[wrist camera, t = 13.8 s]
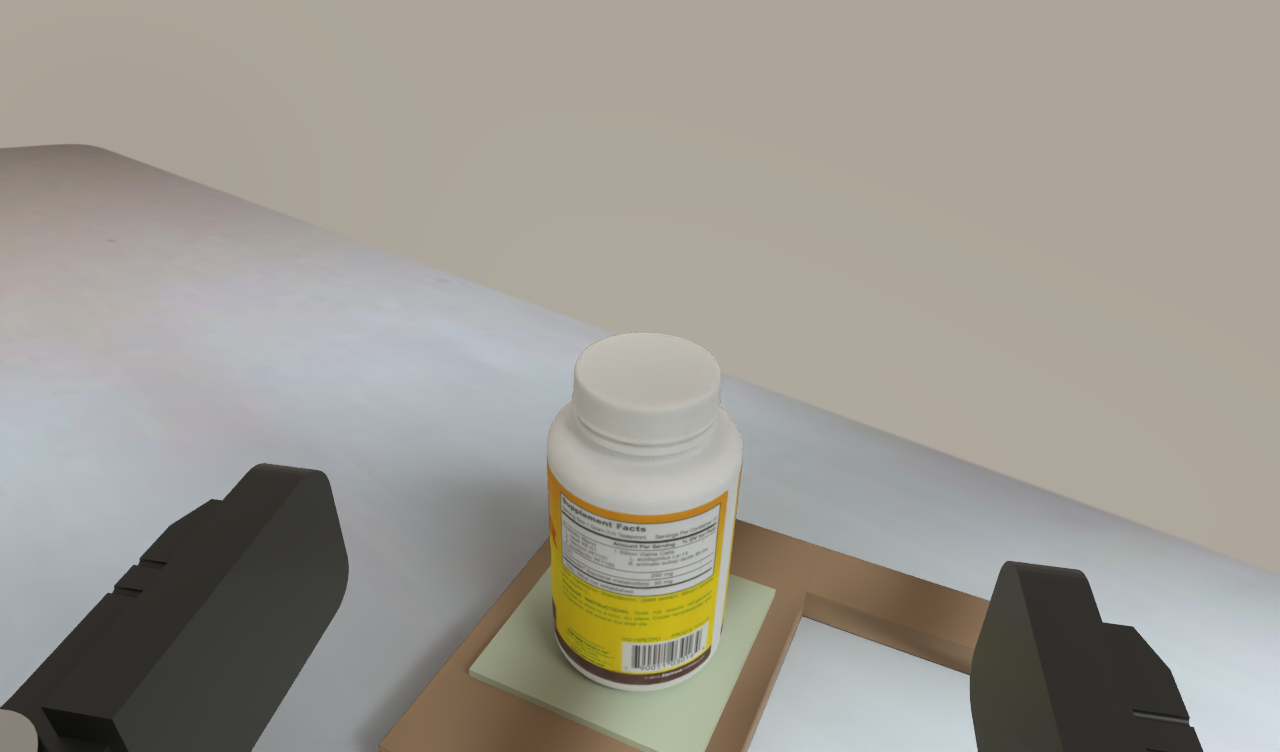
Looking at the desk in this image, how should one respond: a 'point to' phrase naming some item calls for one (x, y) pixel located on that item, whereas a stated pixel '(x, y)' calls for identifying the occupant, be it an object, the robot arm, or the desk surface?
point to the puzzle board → (698, 707)
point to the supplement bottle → (642, 511)
